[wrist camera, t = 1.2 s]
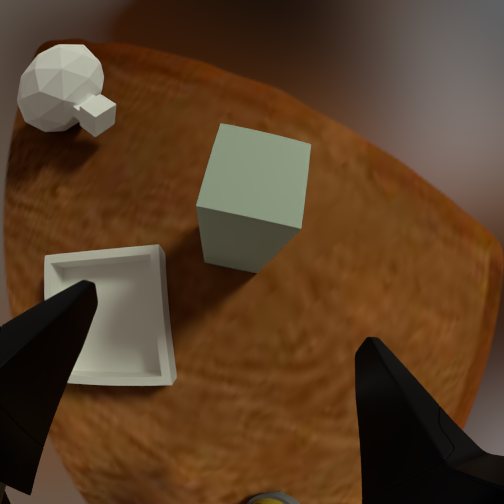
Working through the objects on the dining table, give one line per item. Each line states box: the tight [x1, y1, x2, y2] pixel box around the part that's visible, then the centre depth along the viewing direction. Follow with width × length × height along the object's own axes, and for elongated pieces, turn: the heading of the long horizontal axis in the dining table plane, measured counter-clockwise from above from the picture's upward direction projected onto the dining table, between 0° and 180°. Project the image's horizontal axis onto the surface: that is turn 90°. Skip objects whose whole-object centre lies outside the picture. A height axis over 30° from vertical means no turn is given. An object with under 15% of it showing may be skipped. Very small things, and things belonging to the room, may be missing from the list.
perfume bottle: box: [17, 45, 116, 137], centre depth 18 cm, size 9×9×12 cm
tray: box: [44, 245, 177, 386], centre depth 18 cm, size 9×9×3 cm
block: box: [196, 123, 311, 273], centre depth 16 cm, size 4×4×11 cm
